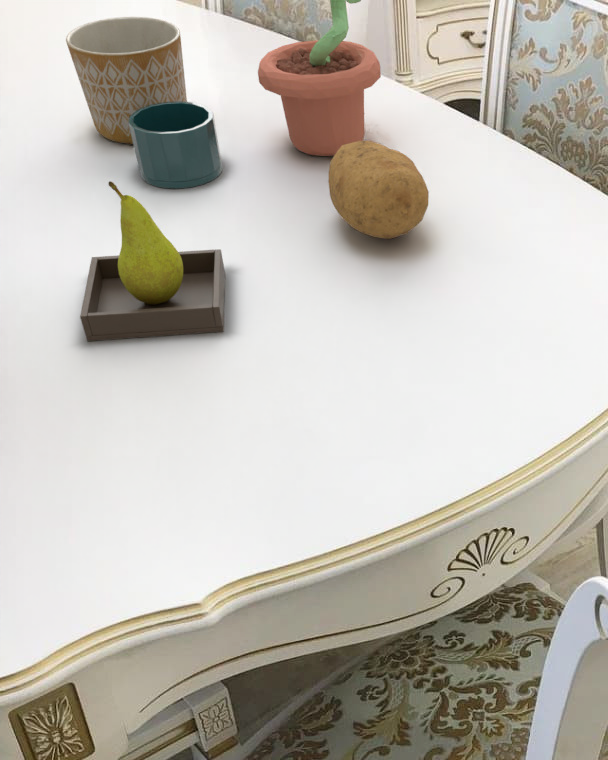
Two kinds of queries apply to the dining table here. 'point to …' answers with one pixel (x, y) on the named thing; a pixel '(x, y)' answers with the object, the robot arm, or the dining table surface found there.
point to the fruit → (146, 255)
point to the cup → (176, 144)
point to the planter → (126, 69)
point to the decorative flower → (322, 86)
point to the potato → (377, 189)
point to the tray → (174, 317)
